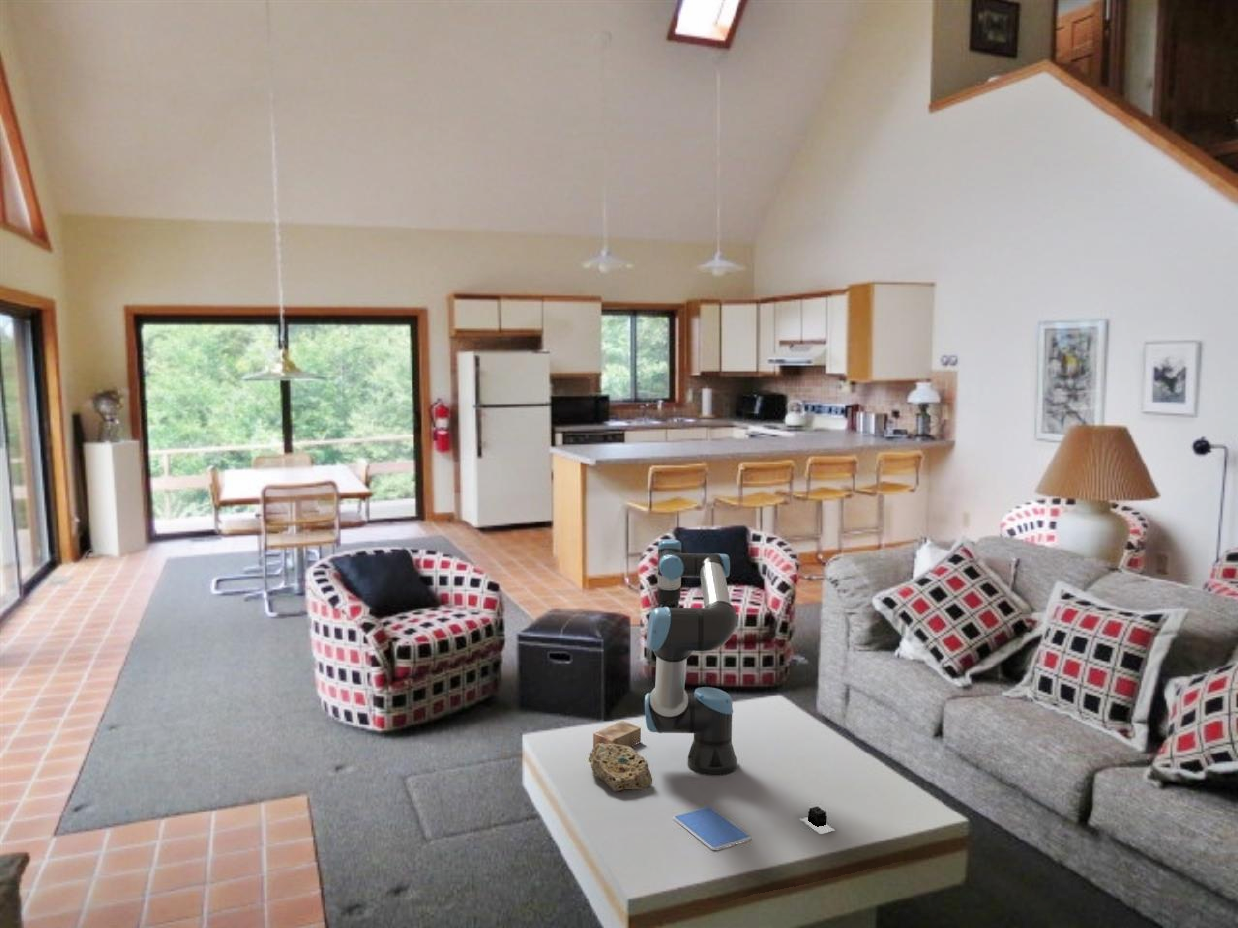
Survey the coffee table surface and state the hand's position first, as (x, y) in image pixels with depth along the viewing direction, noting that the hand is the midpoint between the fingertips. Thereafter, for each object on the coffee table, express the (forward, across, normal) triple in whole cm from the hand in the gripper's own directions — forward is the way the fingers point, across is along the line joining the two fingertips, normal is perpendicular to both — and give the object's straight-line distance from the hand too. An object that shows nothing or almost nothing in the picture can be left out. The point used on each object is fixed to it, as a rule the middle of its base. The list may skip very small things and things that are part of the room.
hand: (667, 657), depth 302 cm
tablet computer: (+27, +39, +48) cm, 68 cm away
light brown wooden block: (+24, +10, -6) cm, 27 cm away
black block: (+27, +17, +67) cm, 75 cm away
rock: (+27, +35, +10) cm, 45 cm away
